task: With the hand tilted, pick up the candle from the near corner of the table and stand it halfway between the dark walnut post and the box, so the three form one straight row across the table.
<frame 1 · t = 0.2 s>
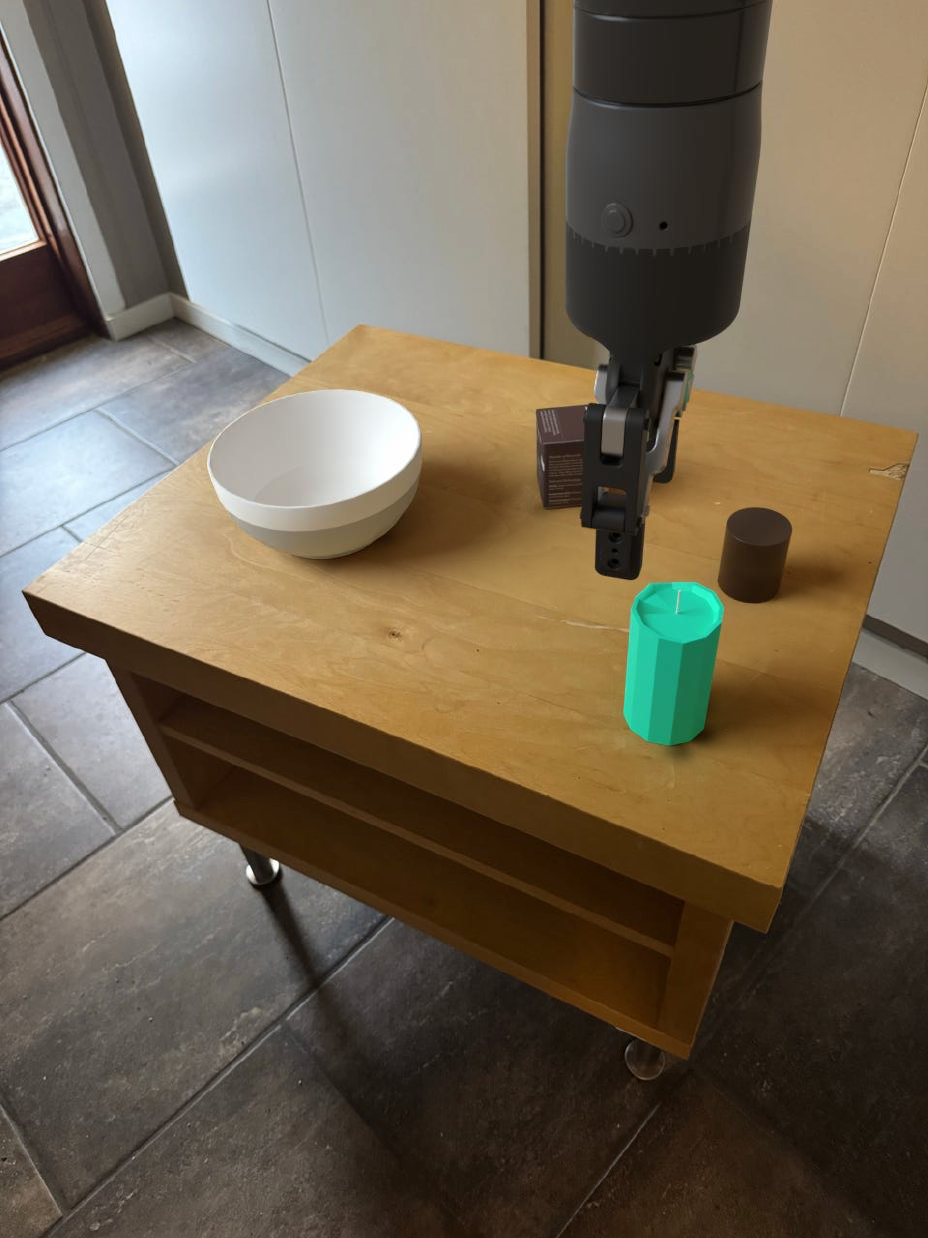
hand: (636, 523, 49), 22 cm above the table, tool pointing down, fingers open, 8 cm apart
box: (570, 490, 89), on the table
candle: (664, 715, 68), on the table
bowl: (331, 524, 88), on the table
walnut post: (748, 583, 78), on the table
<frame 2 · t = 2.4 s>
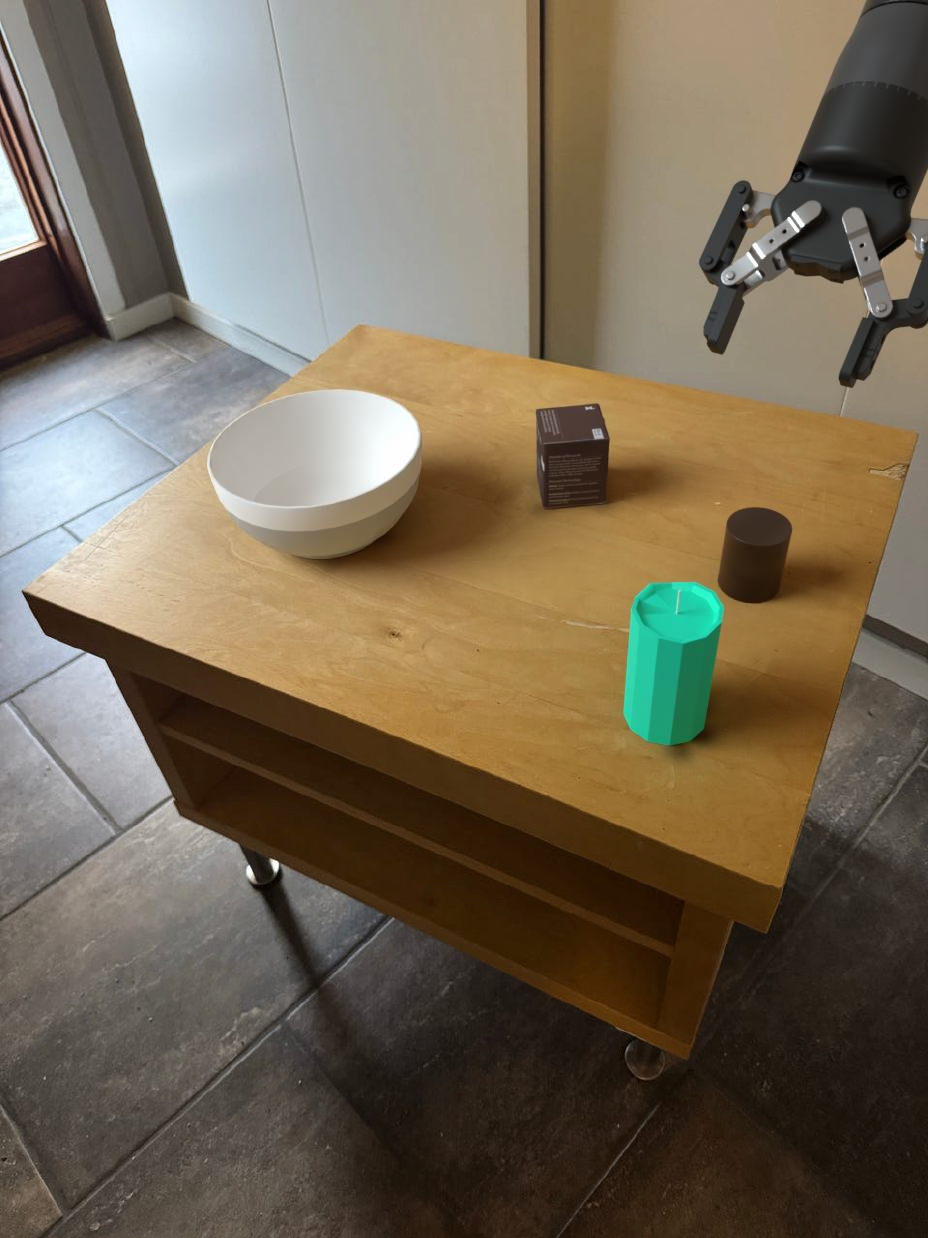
hand: (777, 366, 59), 23 cm above the table, tool tilted 45°, fingers open, 8 cm apart
nothing on the table moved.
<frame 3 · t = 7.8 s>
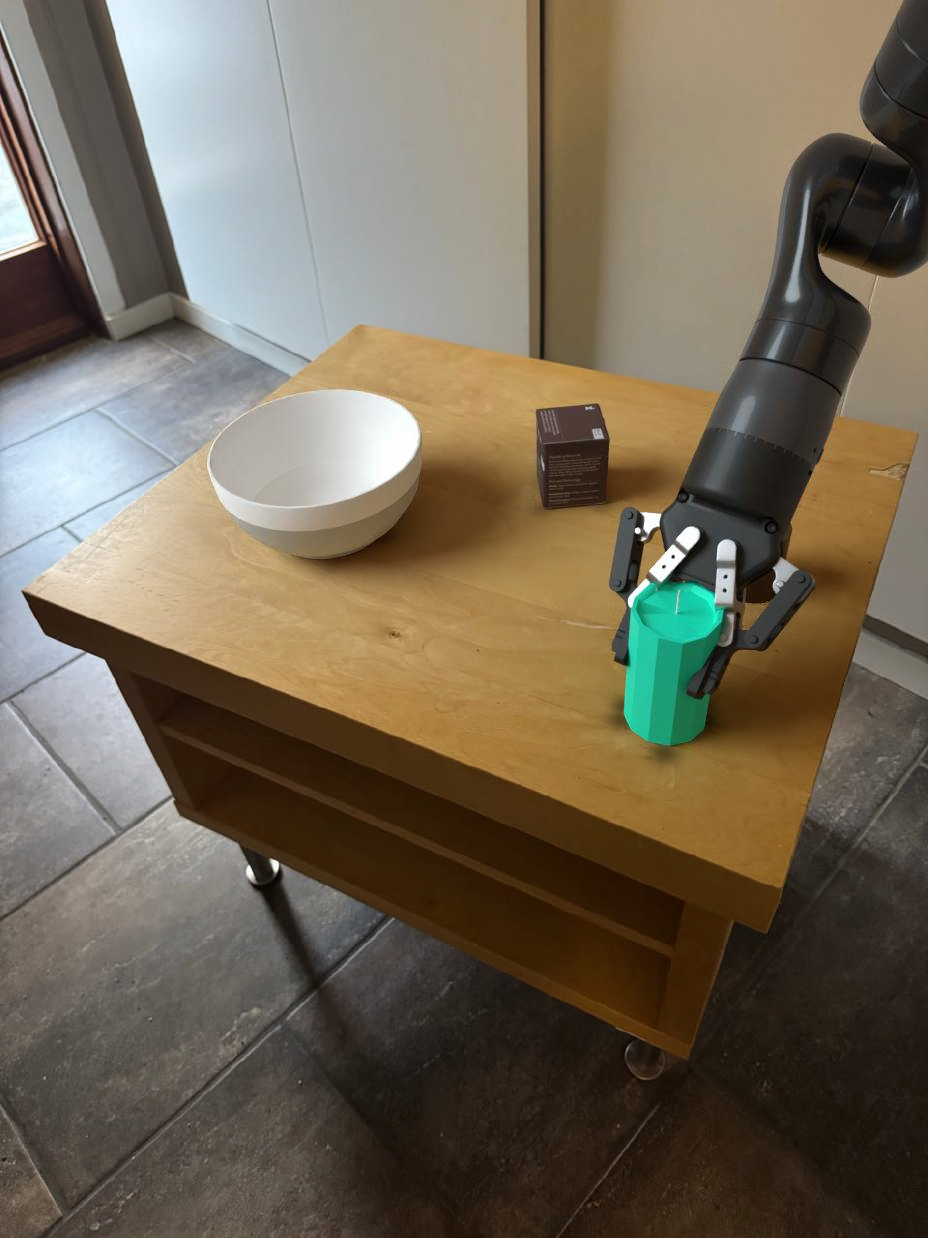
hand: (658, 679, 63), 5 cm above the table, tool tilted 45°, fingers closed on candle, 5 cm apart
candle: (664, 715, 68), on the table, touching gripper
everything else where it was.
when the fingers open (5 cm above the table, at t = 17.0 s): candle stays where it is, on the table.
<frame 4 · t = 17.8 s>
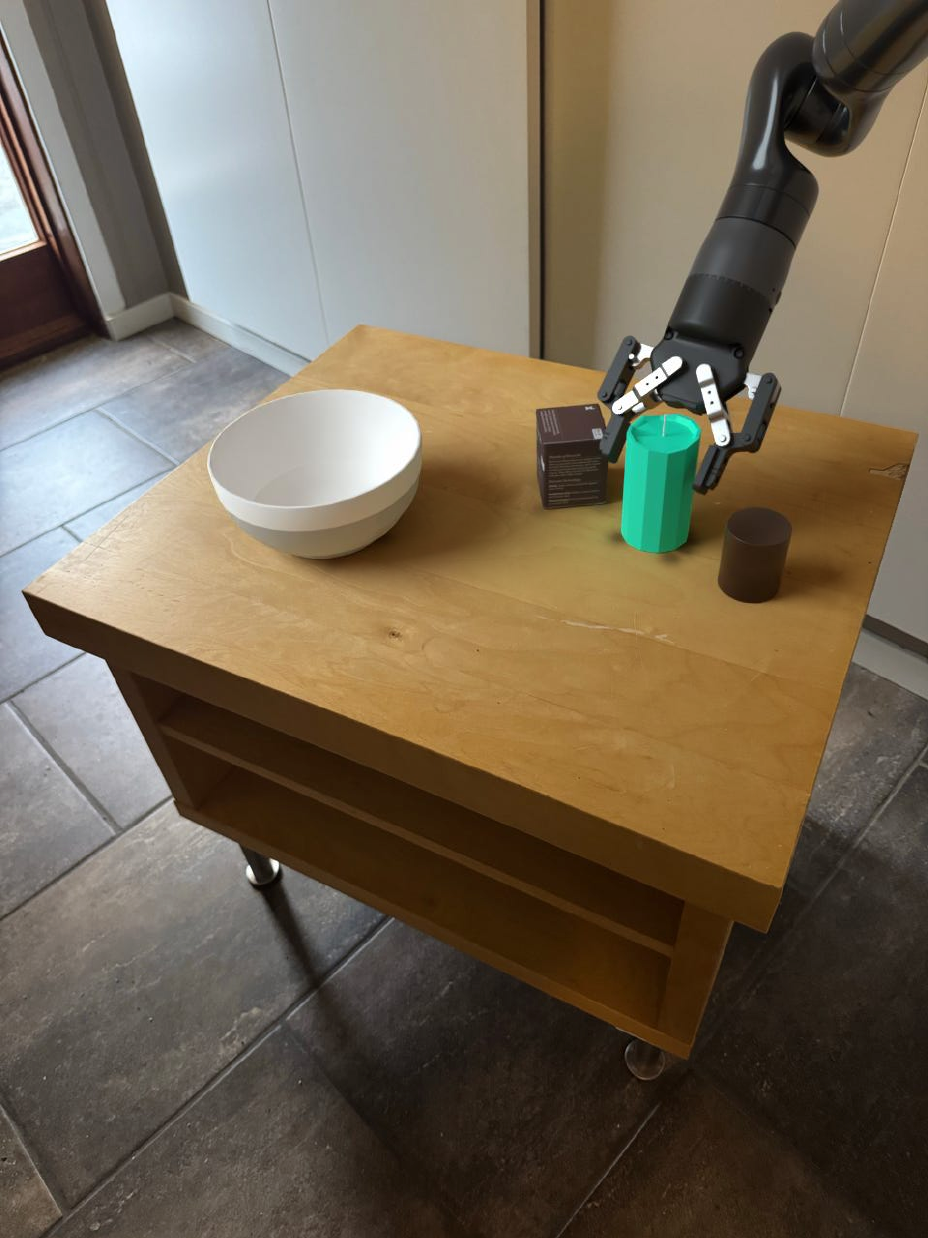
hand: (652, 476, 78), 7 cm above the table, tool tilted 45°, fingers open, 8 cm apart
candle: (654, 533, 84), on the table
everything else where it was.
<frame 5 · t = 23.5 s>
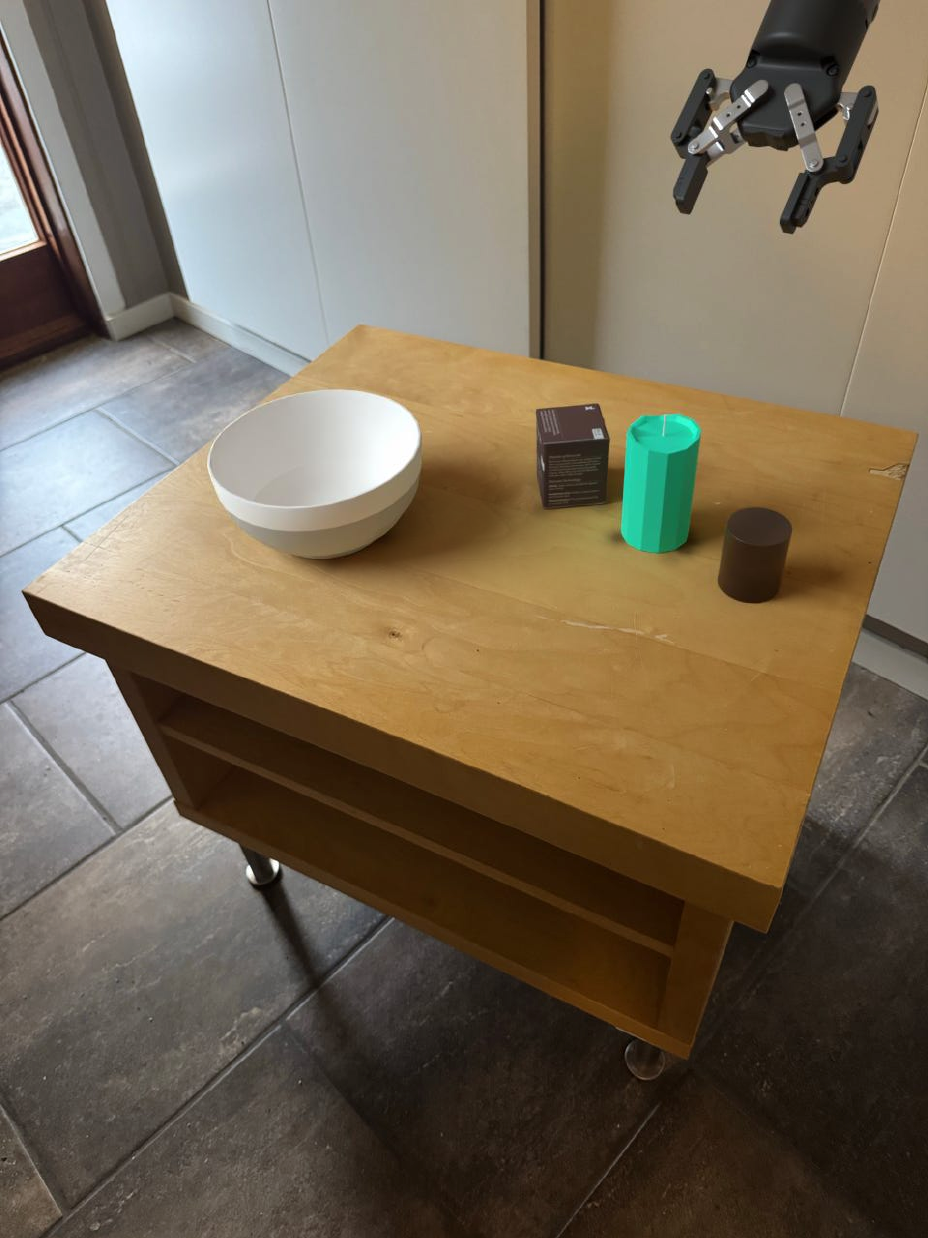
hand: (732, 218, 71), 25 cm above the table, tool tilted 45°, fingers open, 8 cm apart
nothing on the table moved.
at the end: candle 0.2 cm from the target spot on the table beside the box, on the table; candle tilted 0°; the gripper is holding nothing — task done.
